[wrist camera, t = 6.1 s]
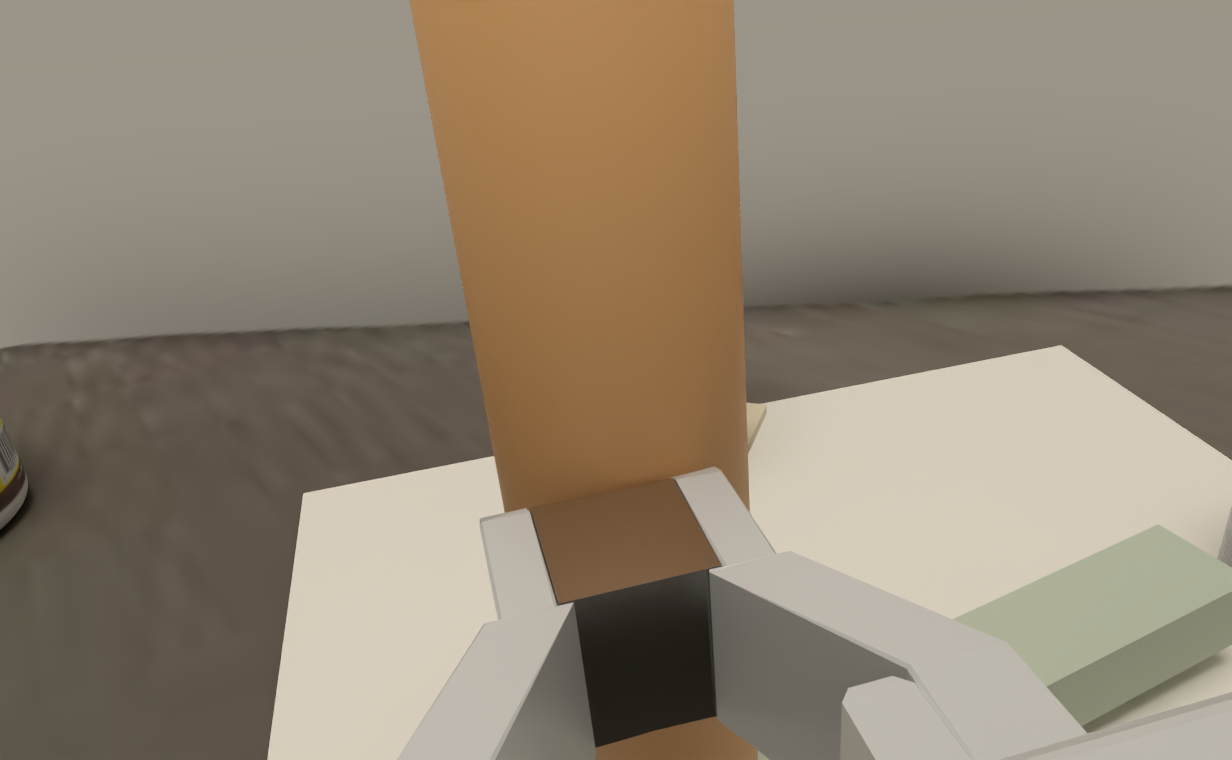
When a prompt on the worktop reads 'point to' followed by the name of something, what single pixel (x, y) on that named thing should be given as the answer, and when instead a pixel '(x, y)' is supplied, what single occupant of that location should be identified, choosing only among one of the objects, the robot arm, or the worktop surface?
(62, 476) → the worktop surface
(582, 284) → the orange upright dowel
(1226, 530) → the post
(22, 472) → the supplement bottle
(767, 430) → the base board
